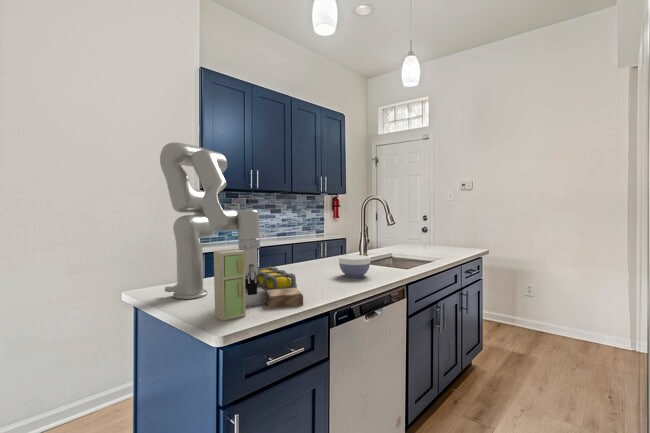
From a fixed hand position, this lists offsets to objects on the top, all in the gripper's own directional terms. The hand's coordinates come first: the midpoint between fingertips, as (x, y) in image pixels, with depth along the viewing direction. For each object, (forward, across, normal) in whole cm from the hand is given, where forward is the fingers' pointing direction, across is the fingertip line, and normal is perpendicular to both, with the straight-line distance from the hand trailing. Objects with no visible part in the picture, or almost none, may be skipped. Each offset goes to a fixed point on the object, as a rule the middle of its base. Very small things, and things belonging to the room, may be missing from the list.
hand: (251, 291), depth 124 cm
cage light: (+5, -20, +10) cm, 23 cm away
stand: (+5, +2, +11) cm, 12 cm away
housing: (+5, -1, -1) cm, 5 cm away
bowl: (+5, -35, +54) cm, 65 cm away
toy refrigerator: (+5, +13, -8) cm, 16 cm away
